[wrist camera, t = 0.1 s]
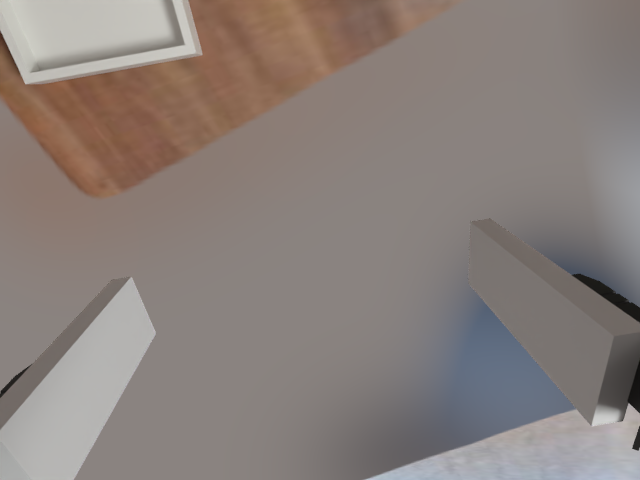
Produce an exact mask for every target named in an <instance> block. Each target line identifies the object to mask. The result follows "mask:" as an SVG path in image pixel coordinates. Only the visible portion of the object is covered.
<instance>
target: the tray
mask: <svg viewBox="0 0 640 480" xmlns="http://www.w3.org/2000/svg"><path fill="white" fill-rule="evenodd" d="M0 31H1V33H2V35H3V37H4V39H5V41H6V44H7V46H8V48H9V50H10V52H11V54H12V56H13V58H14V61H15V63H16V65H17V67H18V69H19V71H20V73H21V76H22V78H23V80H24V82H25V84H46V83H52V82H57V81H63V80H68V79H74V78H79V77H85V76H90V75H96V74H101V73H107V72H112V71H118V70H124V69H129V68H135V67H140V66H146V65H151V64H157V63H162V62H168V61H173V60H179V59H185V58H190V57H196V56H201V55H203V54H202V50H201V46H200V43H199V39H198V35H197V31H196V28H195V24H194V20H193V16H192V13H191V9H190V5H189V2H188V0H0Z"/></svg>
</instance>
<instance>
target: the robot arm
mask: <svg viewBox="0 0 640 480" xmlns="http://www.w3.org/2000/svg"><path fill="white" fill-rule="evenodd" d="M468 283H469V284H470V286H471V287H472V288H473V289H474V290H475V291H476V293H477V294H478V295H479V296H480V297H481V298H482V300H483V301H484V302H485V303H486V304H487V305H488V306H489V308H490V309H491V310H492V311H493V312H494V314H496V316H497V317H498V318H499V319H500V320H501V322H502V323H503V324H504V325H505V326H506V327H507V328H508V330H509V331H510V332H511V333H512V334H513V335H514V337H515V338H516V339H517V340H518V341H519V343H520V344H521V345H522V346H523V347H524V348H525V349H526V351H527V352H528V353H529V354H530V355H531V356H532V358H533V359H534V360H535V361H536V362H537V363H538V365H539V366H540V367H541V368H542V369H543V370H544V371H545V373H546V374H547V375H548V376H549V377H550V379H551V380H552V381H553V382H554V383H555V384H556V386H558V388H559V389H560V390H561V391H562V392H563V394H564V395H565V396H566V397H567V398H568V399H569V401H570V402H571V403H572V404H573V405H574V406H575V408H576V409H577V410H578V411H579V412H580V413H581V415H582V416H583V417H584V418H585V419H586V420H587V422H588V423H589V424H590V425H591V426H595V425H602V424H608V423H614V422H620V421H623V419H624V416H625V413H626V409H627V406H628V403H630V404H631V405H632V406H633V407H634V408H635V409H636V410H637V411H638V412H639V413H640V308H639V307H638V306H637V305H635V304H634V303H629V300H627V299H626V298H624V297H623V296H621V295H620V294H616V293H615V291H613V290H612V289H611V288H609V287H607V286H606V285H604V284H603V283H601V282H600V281H597V280H595V279H592V278H589V277H587V276H584V275H581V274H574V275H570V274H569V273H568V272H566V271H565V270H563V269H562V268H560V267H559V266H557V265H556V264H554V263H553V262H552V261H550V260H549V259H547V258H546V257H545V256H543V255H542V254H540V253H539V252H537V251H536V250H534V249H533V248H532V247H530V246H529V245H527V244H526V243H525V242H523V241H522V240H520V239H519V238H517V237H516V236H514V235H513V234H512V233H510V232H509V231H507V230H506V229H504V228H503V227H502V226H500V225H499V224H497V223H496V222H494V221H493V220H491V219H484V220H478V221H472V222H470V246H469V279H468ZM155 334H156V332H155V330H154V328H153V325H152V323H151V321H150V319H149V316H148V314H147V312H146V309H145V307H144V305H143V302H142V300H141V298H140V295H139V293H138V291H137V289H136V286H135V284H134V281H133V279H132V277H126V278H120V279H113V280H111V281H110V282H109V283H108V284H107V286H106V287H104V289H103V290H102V291H101V292H100V293H99V294H98V295H97V296H96V297H95V298H94V299H93V300H92V301H91V302H90V303H89V305H88V306H87V307H86V308H85V309H84V310H83V311H82V312H81V313H80V314H79V315H78V316H77V317H76V318H75V319H74V320H73V321H72V323H71V324H70V325H69V326H68V327H67V328H66V329H65V330H64V331H63V332H62V333H61V334H60V335H59V336H58V337H57V338H56V340H55V341H54V342H53V343H52V344H51V345H50V346H49V347H48V348H47V349H46V350H45V351H44V352H43V353H42V354H41V355H40V357H39V358H38V359H37V360H36V361H35V362H34V363H33V364H31V365H30V366H29V367H27V368H26V369H24V370H23V371H22V372H20V373H19V374H18V375H16V376H15V377H14V378H13V379H12V380H11V381H10V382H9V383H8V384H7V385H6V386H5V387H4V388H3V389H2V390H1V394H0V480H74V478H75V476H76V475H77V473H78V471H79V469H80V467H81V466H82V464H83V462H84V460H85V458H86V457H87V455H88V453H89V451H90V450H91V448H92V446H93V444H94V443H95V441H96V439H97V437H98V435H99V433H100V432H101V430H102V428H103V427H104V424H105V423H106V421H107V419H108V418H109V416H110V414H111V412H112V411H113V409H114V407H115V405H116V403H117V402H118V400H119V398H120V396H121V395H122V393H123V391H124V389H125V387H126V386H127V384H128V382H129V380H130V379H131V377H132V375H133V373H134V371H135V370H136V368H137V366H138V364H139V363H140V361H141V359H142V357H143V355H144V354H145V352H146V350H147V348H148V346H149V345H150V343H151V341H152V339H153V338H154V336H155ZM639 448H640V426H639V429H638V432H637V435H636V438H635V441H634V444H633V448H632V449H635V450H638V451H639Z"/></svg>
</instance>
